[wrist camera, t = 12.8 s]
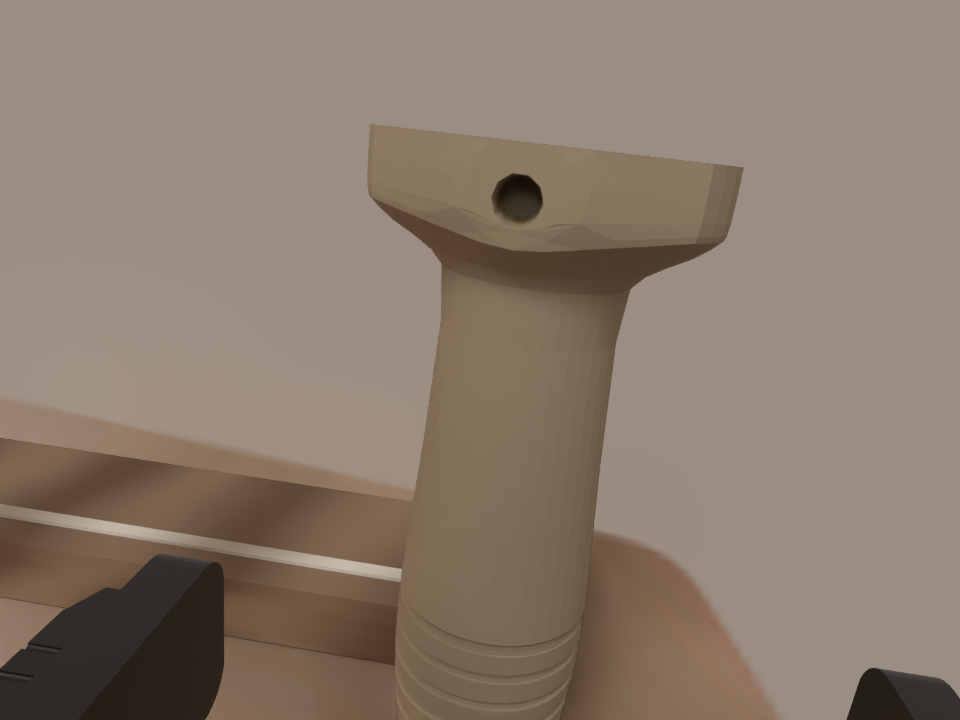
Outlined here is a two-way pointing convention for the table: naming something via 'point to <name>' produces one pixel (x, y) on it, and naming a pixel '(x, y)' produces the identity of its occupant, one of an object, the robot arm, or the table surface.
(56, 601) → the walnut board
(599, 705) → the table surface
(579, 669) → the table surface
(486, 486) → the handle
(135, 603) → the robot arm
